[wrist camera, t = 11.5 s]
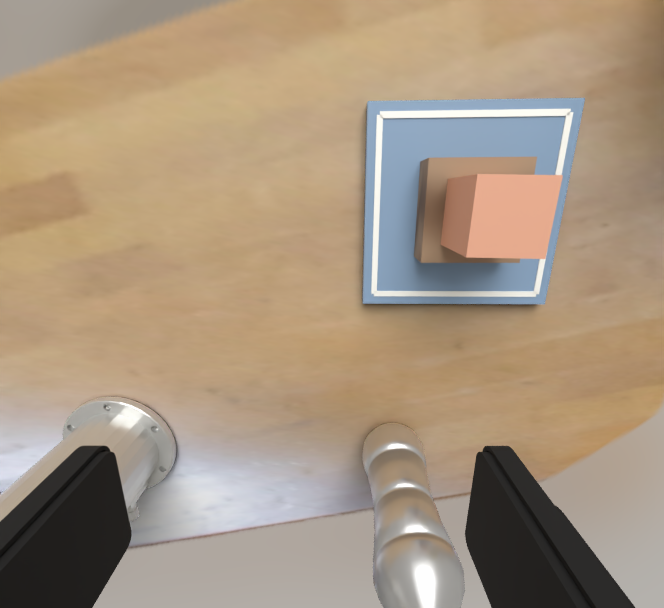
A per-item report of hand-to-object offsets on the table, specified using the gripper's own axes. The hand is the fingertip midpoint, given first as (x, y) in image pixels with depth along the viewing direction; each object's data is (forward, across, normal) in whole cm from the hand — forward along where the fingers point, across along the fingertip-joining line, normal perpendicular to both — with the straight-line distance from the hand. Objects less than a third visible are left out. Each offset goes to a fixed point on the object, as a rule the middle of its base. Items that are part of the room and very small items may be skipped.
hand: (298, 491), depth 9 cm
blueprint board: (+24, -12, -7) cm, 28 cm away
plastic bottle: (+26, -8, +18) cm, 32 cm away
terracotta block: (+20, -12, -7) cm, 25 cm away
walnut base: (+23, -12, -7) cm, 27 cm away
